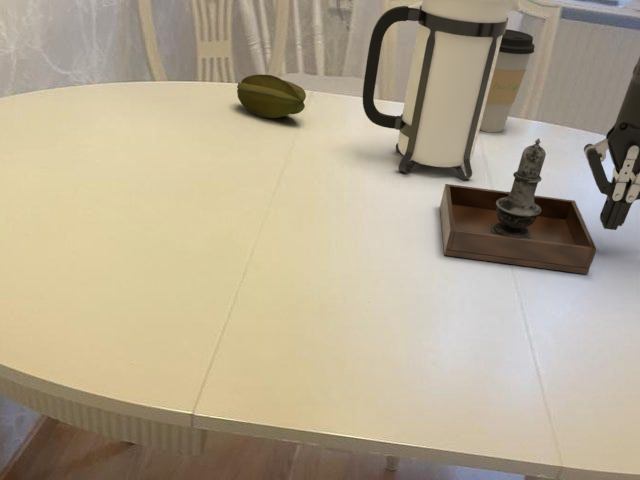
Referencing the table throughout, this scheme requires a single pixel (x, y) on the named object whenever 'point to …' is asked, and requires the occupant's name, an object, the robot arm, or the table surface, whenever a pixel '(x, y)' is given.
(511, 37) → the coffee cup
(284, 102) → the fruit
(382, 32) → the coffee press
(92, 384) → the table surface
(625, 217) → the robot arm
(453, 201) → the tray
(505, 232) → the salt shaker
